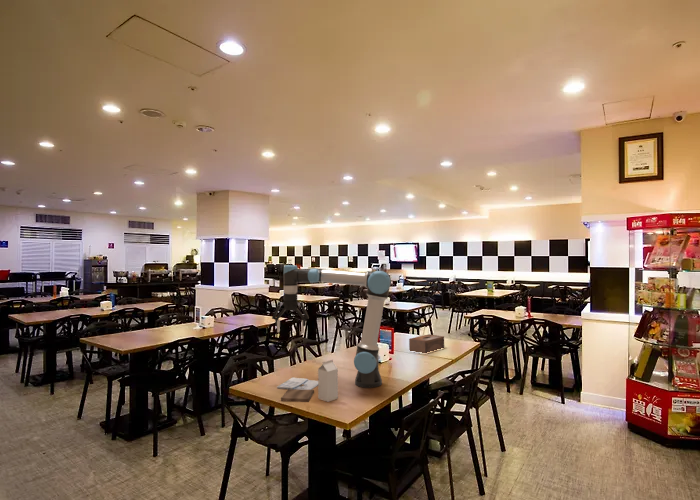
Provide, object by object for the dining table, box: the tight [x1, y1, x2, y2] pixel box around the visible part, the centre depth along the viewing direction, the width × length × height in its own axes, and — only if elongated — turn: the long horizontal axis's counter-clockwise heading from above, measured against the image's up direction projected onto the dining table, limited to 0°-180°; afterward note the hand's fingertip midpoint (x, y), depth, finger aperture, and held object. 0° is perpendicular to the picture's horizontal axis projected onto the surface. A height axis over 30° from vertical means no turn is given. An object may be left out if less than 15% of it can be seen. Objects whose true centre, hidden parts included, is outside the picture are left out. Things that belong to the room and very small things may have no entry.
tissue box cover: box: [408, 333, 445, 353], centre depth 307 cm, size 26×14×10 cm, turn 134°
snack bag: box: [276, 376, 318, 390], centre depth 222 cm, size 19×20×2 cm
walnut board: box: [280, 389, 315, 403], centre depth 203 cm, size 14×14×2 cm
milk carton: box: [317, 359, 339, 403], centre depth 199 cm, size 7×7×19 cm
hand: (290, 332), depth 216 cm, fingers open, 13 cm apart
